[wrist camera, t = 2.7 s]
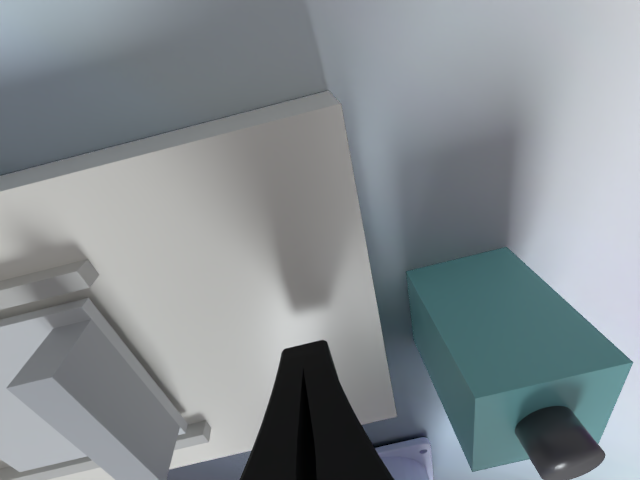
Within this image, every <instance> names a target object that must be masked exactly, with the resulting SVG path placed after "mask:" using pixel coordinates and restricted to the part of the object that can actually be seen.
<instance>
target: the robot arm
mask: <svg viewBox="0 0 640 480" xmlns="http://www.w3.org/2000/svg"><path fill="white" fill-rule="evenodd" d="M240 480H434V477H433V466H432V455H431V445H430V442H429V440H428V439H427V438H425V437H421V438H416V439H412V440H407V441H403V442H399V443H394V444H390V445H386V446H381V447H377V448H374V446H373V445H372V443H371V441H370V440H369V438H368V436H367V434H366V433H365V431H364V429H363V427H362V425H361V424H360V422H359V420H358V418H357V416H356V414H355V413H354V411H353V409H352V407H351V405H350V403H349V401H348V399H347V397H346V394H345V392H344V390H343V388H342V386H341V384H340V382H339V379H338V375H337V372H336V369H335V365H334V362H333V359H332V356H331V352H330V349H329V346H328V343H327V341H325V340H319V341H315V342H311V343H307V344H303V345H298V346H294V347H290V348H286V349H284V350H283V351H282V353H281V358H280V363H279V367H278V371H277V375H276V379H275V382H274V386H273V389H272V393H271V396H270V399H269V402H268V406H267V409H266V412H265V415H264V418H263V421H262V424H261V427H260V430H259V432H258V435H257V438H256V440H255V443H254V446H253V448H252V451H251V454H250V456H249V459H248V461H247V464H246V466H245V469H244V471H243V473H242V476H241V478H240Z"/></svg>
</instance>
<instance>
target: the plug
mask: <svg viewBox="0 0 640 480" xmlns="http://www.w3.org/2000/svg"><path fill="white" fill-rule="evenodd" d="M406 276H407V285H408V294H409V303H410V312H411V321H412V331H413V340H414V342H415V344H416V346H417V349H418V351H419V353H420V355H421V358H422V360H423V362H424V364H425V367H426V369H427V371H428V373H429V376H430V378H431V380H432V382H433V385H434V387H435V389H436V391H437V394H438V396H439V398H440V400H441V403H442V405H443V407H444V409H445V412H446V414H447V416H448V418H449V421H450V423H451V425H452V427H453V430H454V432H455V434H456V436H457V439H458V441H459V443H460V445H461V448H462V450H463V452H464V454H465V456H466V459H467V461H468V463H469V465H470V468H471V470H472V472H474V471H478V470H483V469H487V468H492V467H496V466H501V465H505V464H510V463H514V462H519V461H523V460H527V459H530V460H531V461H532V463H533V465H534V466H535V468H536V470H537V471H538V473H539V475H540V476H541V478H542V479H544V480H569V479H573V478H576V477H579V476H581V475H584V474H586V473H588V472H590V471H591V470H593V469H594V468H596V467H597V466H598V465H600V464H601V463H602V461H603V460H604V458H605V453H604V451H603V450H602V449H601V447H600V446H599V445H598V444H599V441H600V439H601V436H602V434H603V432H604V429H605V427H606V425H607V422H608V420H609V418H610V415H611V413H612V411H613V408H614V406H615V404H616V401H617V399H618V397H619V394H620V392H621V390H622V387H623V385H624V383H625V380H626V378H627V376H628V373H629V371H630V369H631V366H632V364H633V362H632V361H631V360H630V359H629V358H628V357H627V356H626V355H625V354H624V353H622V352H621V351H620V350H619V349H618V348H617V347H616V346H615V345H614V344H613V343H612V342H610V341H609V340H608V339H607V338H606V337H605V336H604V335H603V334H602V333H601V332H599V331H598V330H597V329H596V328H595V327H594V326H593V325H592V324H591V323H590V322H588V321H587V320H586V319H585V318H584V317H583V316H582V315H581V314H580V313H579V312H577V311H576V310H575V309H574V308H573V307H572V306H571V305H570V304H569V303H568V302H566V301H565V300H564V299H563V298H562V297H561V296H560V295H559V294H558V293H557V292H555V291H554V290H553V289H552V288H551V287H550V286H549V285H548V284H547V283H546V282H545V281H543V280H542V279H541V278H540V277H539V276H538V275H537V274H536V273H535V272H534V271H532V270H531V269H530V268H529V267H528V266H527V265H526V264H525V263H524V262H523V261H521V260H520V259H519V258H518V257H517V256H516V255H515V254H514V253H513V252H512V251H510V250H509V249H508V248H507V247H505V248H500V249H496V250H492V251H488V252H484V253H480V254H476V255H472V256H468V257H463V258H459V259H455V260H451V261H447V262H443V263H439V264H435V265H430V266H426V267H422V268H418V269H414V270H410V271H406Z"/></svg>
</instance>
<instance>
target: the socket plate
mask: <svg viewBox="0 0 640 480" xmlns="http://www.w3.org/2000/svg"><path fill="white" fill-rule="evenodd" d="M86 298H89V299H90V300H91V302H92V303H93V304H94V305H95V307H96V308H97V309H98V311H99V312H100V313H101V314H102V316H103V317H104V318H105V319H106V321H107V322H108V323H109V324H110V326H111V327H112V328H113V330H114V331H115V332H116V333H117V335H118V336H119V337H120V338H121V340H122V341H123V342H124V343H125V345H126V346H127V347H128V348H129V350H130V351H131V352H132V354H133V355H134V356H135V357H136V359H137V360H138V361H139V362H140V364H141V365H142V366H143V367H144V369H145V370H146V371H147V373H148V374H149V375H150V376H151V378H152V379H153V380H154V381H155V383H156V384H157V385H158V386H159V388H160V389H161V390H162V391H163V393H164V394H165V395H166V397H167V398H168V399H169V400H170V402H171V403H172V404H173V405H174V407H175V408H176V409H177V410H178V412H179V413H180V414H181V416H182V417H183V418H184V419H185V421H186V422H187V423H188V425H187V430H186V434H181V435H178V437H177V441H176V444H175V448H174V452H173V456H172V460H171V464H170V467H169V469H173V468H177V467H181V466H186V465H190V464H194V463H199V462H203V461H207V460H212V459H216V458H220V457H225V456H229V455H234V454H238V453H242V452H247V451H251V450H252V448H253V446H254V443H255V440H256V438H257V435H258V432H259V430H260V427H261V424H262V421H263V418H264V415H265V412H266V409H267V406H268V402H269V399H270V396H271V393H272V389H273V386H274V382H275V379H276V375H277V371H278V367H279V363H280V358H281V353H282V351H283V350H284V349H286V348H290V347H294V346H298V345H303V344H307V343H311V342H315V341H319V340H325V341H327V343H328V346H329V349H330V352H331V356H332V359H333V362H334V365H335V369H336V372H337V375H338V379H339V382H340V384H341V386H342V388H343V390H344V392H345V394H346V397H347V399H348V401H349V403H350V405H351V407H352V409H353V411H354V413H355V414H356V416H357V418H358V420H359V422H360V424H361V425H364V424H368V423H372V422H377V421H381V420H385V419H390V418H394V417H397V413H396V407H395V402H394V396H393V391H392V385H391V380H390V374H389V368H388V363H387V357H386V352H385V346H384V340H383V335H382V329H381V324H380V318H379V313H378V307H377V301H376V296H375V290H374V285H373V279H372V273H371V268H370V262H369V257H368V251H367V245H366V240H365V234H364V229H363V223H362V218H361V212H360V206H359V201H358V195H357V190H356V184H355V178H354V173H353V167H352V162H351V156H350V151H349V145H348V139H347V134H346V128H345V123H344V117H343V111H342V106H341V103H340V102H339V101H338V100H337V99H336V98H335V97H334V96H333V95H332V94H331V93H330V92H329V91H325V92H321V93H317V94H313V95H309V96H305V97H302V98H298V99H294V100H290V101H286V102H282V103H279V104H275V105H271V106H267V107H263V108H259V109H255V110H252V111H248V112H244V113H240V114H236V115H232V116H229V117H225V118H221V119H217V120H213V121H209V122H205V123H202V124H198V125H194V126H190V127H186V128H182V129H179V130H175V131H171V132H167V133H163V134H159V135H155V136H152V137H148V138H144V139H140V140H136V141H132V142H129V143H125V144H121V145H117V146H113V147H109V148H105V149H102V150H98V151H94V152H90V153H86V154H82V155H78V156H75V157H71V158H67V159H63V160H59V161H55V162H52V163H48V164H44V165H40V166H36V167H32V168H28V169H25V170H21V171H17V172H13V173H9V174H5V175H2V176H0V320H1V319H5V318H9V317H13V316H17V315H21V314H25V313H29V312H33V311H37V310H41V309H45V308H49V307H53V306H57V305H62V304H66V303H70V302H74V301H78V300H82V299H86ZM0 480H115V479H114V478H113V477H112V476H110V475H109V474H108V473H107V472H106V471H104V470H103V469H102V468H101V467H100V466H98V465H97V464H96V463H95V462H94V461H92V460H91V459H90V458H89V457H88V456H87V457H83V458H78V459H74V460H70V461H66V462H61V463H57V464H53V465H48V466H44V467H40V468H36V469H31V470H27V471H23V472H18V471H17V470H15V469H14V468H13V467H11V466H10V465H8V464H7V463H5V462H4V461H2V460H1V459H0Z"/></svg>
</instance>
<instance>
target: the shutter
mask: <svg viewBox="0 0 640 480" xmlns="http://www.w3.org/2000/svg"><path fill="white" fill-rule="evenodd" d="M187 425H188V423H187V422H186V421H185V419H184V418H183V417H182V416H181V414H180V413H179V412H178V410H177V409H176V408H175V407H174V405H173V404H172V403H171V402H170V400H169V399H168V398H167V397H166V395H165V394H164V393H163V391H162V390H161V389H160V388H159V386H158V385H157V384H156V383H155V381H154V380H153V379H152V378H151V376H150V375H149V374H148V373H147V371H146V370H145V369H144V367H143V366H142V365H141V364H140V362H139V361H138V360H137V359H136V357H135V356H134V355H133V354H132V352H131V351H130V350H129V348H128V347H127V346H126V345H125V343H124V342H123V341H122V340H121V338H120V337H119V336H118V335H117V333H116V332H115V331H114V330H113V328H112V327H111V326H110V324H109V323H108V322H107V321H106V319H105V318H104V317H103V316H102V314H101V313H100V312H99V311H98V309H97V308H96V307H95V305H94V304H93V303H92V302H91V300H90V299H89V298H86V299H82V300H78V301H74V302H70V303H66V304H62V305H57V306H53V307H49V308H45V309H41V310H37V311H33V312H29V313H25V314H21V315H17V316H13V317H9V318H5V319H1V320H0V459H1V460H2V461H4V462H5V463H7V464H8V465H10V466H11V467H13V468H14V469H15V470H17V471H18V472H23V471H27V470H31V469H36V468H40V467H44V466H48V465H53V464H57V463H61V462H66V461H70V460H74V459H78V458H83V457H87V456H88V457H89V458H90V459H91V460H92V461H94V462H95V463H96V464H97V465H98V466H100V467H101V468H102V469H103V470H104V471H106V472H107V473H108V474H109V475H110V476H112V477H113V478H114V479H115V480H166V479H167V475H168V471H169V467H170V464H171V460H172V456H173V452H174V448H175V444H176V441H177V437H178V435H181V434H186V430H187Z"/></svg>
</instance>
